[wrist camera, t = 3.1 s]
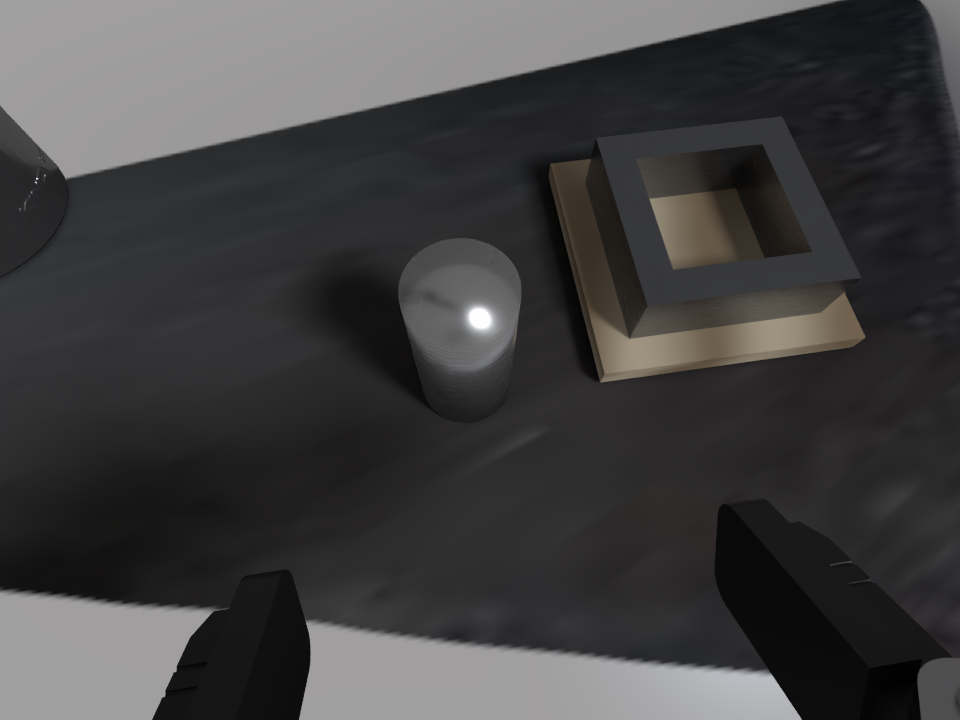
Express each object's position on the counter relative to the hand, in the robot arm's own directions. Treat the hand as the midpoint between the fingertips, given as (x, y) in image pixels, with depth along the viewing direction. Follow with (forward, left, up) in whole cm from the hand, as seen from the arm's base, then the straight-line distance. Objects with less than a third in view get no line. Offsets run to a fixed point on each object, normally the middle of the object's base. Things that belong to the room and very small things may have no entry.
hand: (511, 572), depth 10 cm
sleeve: (+12, +14, -12) cm, 22 cm away
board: (+12, +14, -13) cm, 22 cm away
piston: (0, +9, -13) cm, 15 cm away
